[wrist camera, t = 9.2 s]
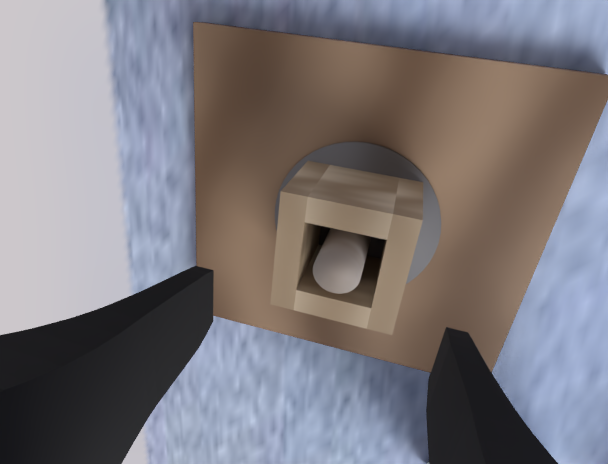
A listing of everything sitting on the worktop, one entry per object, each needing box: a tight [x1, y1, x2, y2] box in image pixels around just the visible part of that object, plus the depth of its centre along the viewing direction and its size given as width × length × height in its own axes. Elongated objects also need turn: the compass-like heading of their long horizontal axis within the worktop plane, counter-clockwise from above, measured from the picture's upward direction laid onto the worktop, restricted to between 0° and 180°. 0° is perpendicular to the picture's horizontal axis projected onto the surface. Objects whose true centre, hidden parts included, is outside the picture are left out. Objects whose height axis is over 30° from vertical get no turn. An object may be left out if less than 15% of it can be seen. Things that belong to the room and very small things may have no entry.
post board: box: [193, 22, 608, 373], centre depth 18 cm, size 16×15×6 cm
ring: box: [270, 161, 423, 335], centre depth 17 cm, size 5×5×4 cm
